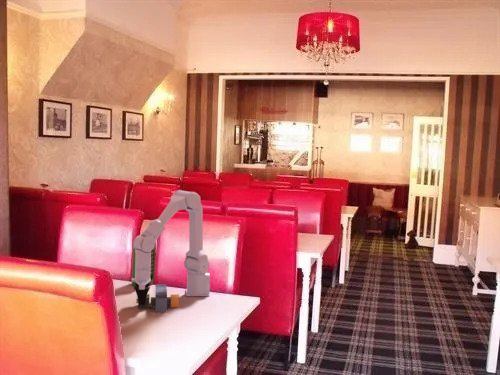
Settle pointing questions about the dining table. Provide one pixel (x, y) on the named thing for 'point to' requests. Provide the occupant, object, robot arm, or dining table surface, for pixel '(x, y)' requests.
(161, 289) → the housing
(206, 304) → the dining table surface
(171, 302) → the plug
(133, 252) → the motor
